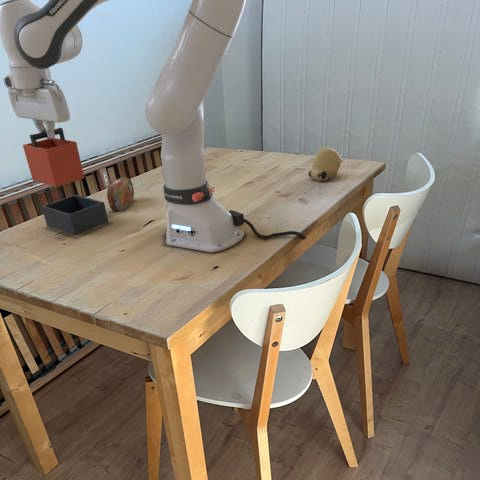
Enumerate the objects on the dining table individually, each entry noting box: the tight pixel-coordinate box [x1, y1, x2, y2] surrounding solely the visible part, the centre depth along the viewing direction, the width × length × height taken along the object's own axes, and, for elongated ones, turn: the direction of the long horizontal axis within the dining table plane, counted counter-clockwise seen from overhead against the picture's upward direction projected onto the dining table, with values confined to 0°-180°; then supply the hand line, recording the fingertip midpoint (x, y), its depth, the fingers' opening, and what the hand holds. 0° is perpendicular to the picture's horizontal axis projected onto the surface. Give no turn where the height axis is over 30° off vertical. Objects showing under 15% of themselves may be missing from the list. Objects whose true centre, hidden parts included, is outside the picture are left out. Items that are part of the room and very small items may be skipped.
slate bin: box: [41, 194, 109, 236], centre depth 144 cm, size 14×12×7 cm
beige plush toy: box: [307, 146, 343, 182], centre depth 169 cm, size 10×12×11 cm
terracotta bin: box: [22, 127, 85, 188], centre depth 129 cm, size 11×9×12 cm
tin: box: [106, 176, 135, 212], centre depth 156 cm, size 15×3×8 cm, turn 168°
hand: (47, 137), depth 126 cm, fingers closed on terracotta bin
